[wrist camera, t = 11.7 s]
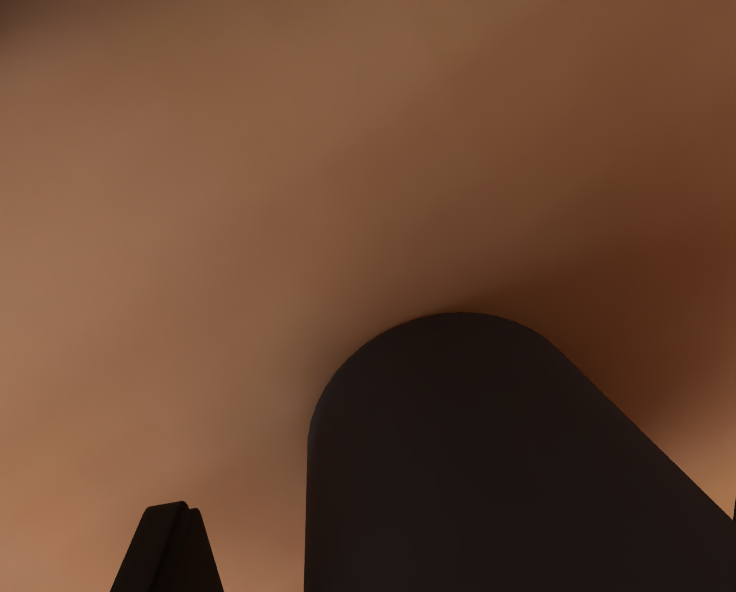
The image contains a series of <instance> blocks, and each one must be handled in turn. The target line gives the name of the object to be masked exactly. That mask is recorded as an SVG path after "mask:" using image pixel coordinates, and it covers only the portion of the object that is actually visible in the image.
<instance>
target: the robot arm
mask: <svg viewBox="0 0 736 592" xmlns="http://www.w3.org/2000/svg"><path fill="white" fill-rule="evenodd" d="M733 521H734V522H735V523H736V500H735V508H734V517H733ZM110 592H224V590H223V587H222V584H221V580H220V577H219V573H218V570H217V567H216V563H215V560H214V557H213V553H212V550H211V547H210V543H209V540H208V536H207V533H206V530H205V526H204V523H203V520H202V516H201V513H200V511H199V510H198V508H193V509H189V507H188V505H187V504H186V502H184V501H179V502H173V503H168V504H162V505H156V506H150V507H148V508H147V509H146V510H145V512H144V513H143V516H142V518H141V520H140V523H139V525H138V527H137V530H136V532H135V534H134V537H133V539H132V541H131V544H130V546H129V548H128V551H127V553H126V555H125V558H124V560H123V562H122V565H121V567H120V569H119V571H118V574H117V576H116V578H115V581H114V583H113V585H112V588H111V590H110Z"/></svg>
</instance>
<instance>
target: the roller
mask: <svg viewBox="0 0 736 592" xmlns="http://www.w3.org/2000/svg"><path fill="white" fill-rule="evenodd" d="M304 592H736V523H735V522H734V521H733V520H732V519H731V518H730V517H729V516H728V515H727V514H726V513H725V512H724V511H723V510H722V509H721V508H720V507H719V506H718V505H717V504H716V503H715V502H714V501H713V500H712V499H711V498H709V497H708V496H707V495H706V494H705V493H704V492H703V491H702V490H701V489H700V488H699V487H698V486H697V485H696V484H695V483H694V482H693V481H692V480H691V479H690V478H689V477H688V476H687V475H686V474H685V473H684V472H683V471H682V470H681V469H680V468H679V467H678V466H677V465H676V464H675V463H674V462H673V461H672V460H671V459H670V458H669V457H668V456H667V455H666V454H665V453H664V452H663V451H662V450H661V449H659V448H658V447H657V446H656V445H655V444H654V443H653V442H652V441H651V440H650V439H649V438H648V437H647V436H646V435H645V434H644V433H643V432H642V431H641V430H640V429H639V428H638V427H637V426H636V425H635V424H634V423H633V422H632V421H631V420H630V419H629V418H628V417H627V416H626V415H625V414H624V413H623V412H622V411H621V410H620V409H619V408H618V407H617V406H616V405H615V404H614V403H613V402H612V401H611V400H609V399H608V398H607V397H606V396H605V395H604V394H603V393H602V392H601V391H600V390H599V389H598V388H597V387H596V386H595V385H594V384H593V383H592V382H591V381H590V380H589V379H588V378H587V377H586V376H585V375H584V374H583V373H582V372H581V371H580V370H579V369H578V368H577V367H576V366H575V365H574V364H573V363H572V362H571V361H570V360H569V359H568V358H567V357H566V356H565V355H564V354H563V353H562V352H560V351H559V350H558V349H557V348H556V347H555V346H554V345H553V344H552V343H550V342H549V341H548V340H547V339H546V338H544V337H543V336H541V335H540V334H538V333H536V332H535V331H533V330H532V329H530V328H528V327H525V326H523V325H521V324H519V323H517V322H514V321H511V320H508V319H504V318H501V317H498V316H492V315H485V314H479V313H450V314H439V315H434V316H429V317H425V318H420V319H417V320H414V321H411V322H408V323H405V324H402V325H399V326H397V327H395V328H393V329H391V330H389V331H387V332H385V333H383V334H381V335H379V336H378V337H376V338H375V339H373V340H372V341H370V342H369V343H367V344H366V345H364V346H363V347H362V348H361V349H359V350H358V351H357V352H356V353H355V354H353V355H352V356H351V357H350V358H349V359H348V360H347V361H346V362H345V363H344V364H343V365H342V366H341V367H340V369H339V370H338V371H337V372H336V373H335V374H334V376H333V377H332V379H331V380H330V382H329V383H328V384H327V386H326V387H325V389H324V391H323V393H322V395H321V397H320V399H319V401H318V403H317V405H316V408H315V411H314V414H313V416H312V419H311V424H310V429H309V434H308V451H307V489H306V527H305V566H304Z"/></svg>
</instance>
